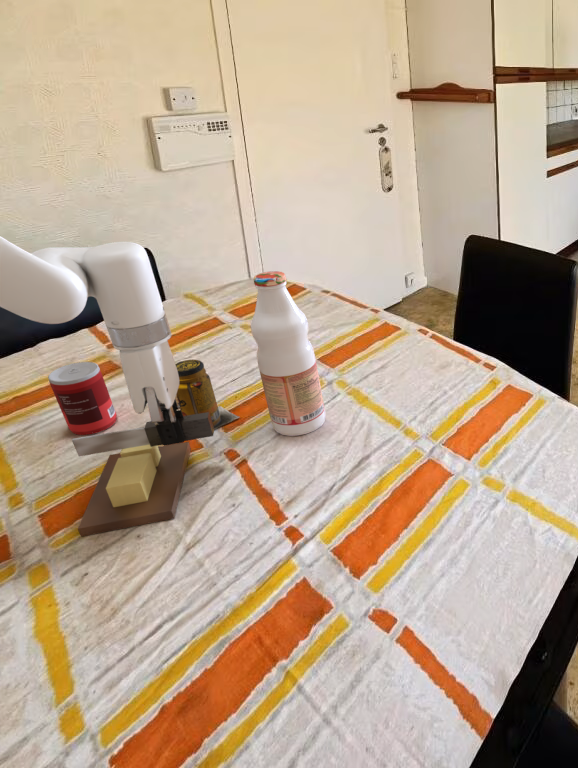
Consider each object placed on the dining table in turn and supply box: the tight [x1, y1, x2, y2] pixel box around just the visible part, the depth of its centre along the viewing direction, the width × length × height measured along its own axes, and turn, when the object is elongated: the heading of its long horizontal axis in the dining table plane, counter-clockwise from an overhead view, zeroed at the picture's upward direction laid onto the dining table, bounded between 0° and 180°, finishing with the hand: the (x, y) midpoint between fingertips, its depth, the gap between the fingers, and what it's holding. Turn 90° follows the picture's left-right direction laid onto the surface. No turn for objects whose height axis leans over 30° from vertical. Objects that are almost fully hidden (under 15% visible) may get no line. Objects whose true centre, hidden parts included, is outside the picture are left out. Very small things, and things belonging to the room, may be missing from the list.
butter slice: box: [119, 444, 161, 467], centre depth 99 cm, size 4×3×4 cm, turn 108°
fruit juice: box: [250, 270, 326, 437], centre depth 107 cm, size 9×9×28 cm
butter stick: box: [106, 453, 157, 507], centre depth 94 cm, size 4×8×4 cm, turn 17°
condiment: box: [175, 359, 241, 430], centre depth 111 cm, size 7×8×12 cm
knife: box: [71, 412, 215, 457], centre depth 96 cm, size 19×2×3 cm, turn 108°
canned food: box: [47, 361, 117, 436], centre depth 111 cm, size 8×8×11 cm
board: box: [77, 441, 192, 537], centre depth 97 cm, size 12×19×2 cm, turn 18°
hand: (175, 437), depth 98 cm, fingers closed on knife, 2 cm apart
